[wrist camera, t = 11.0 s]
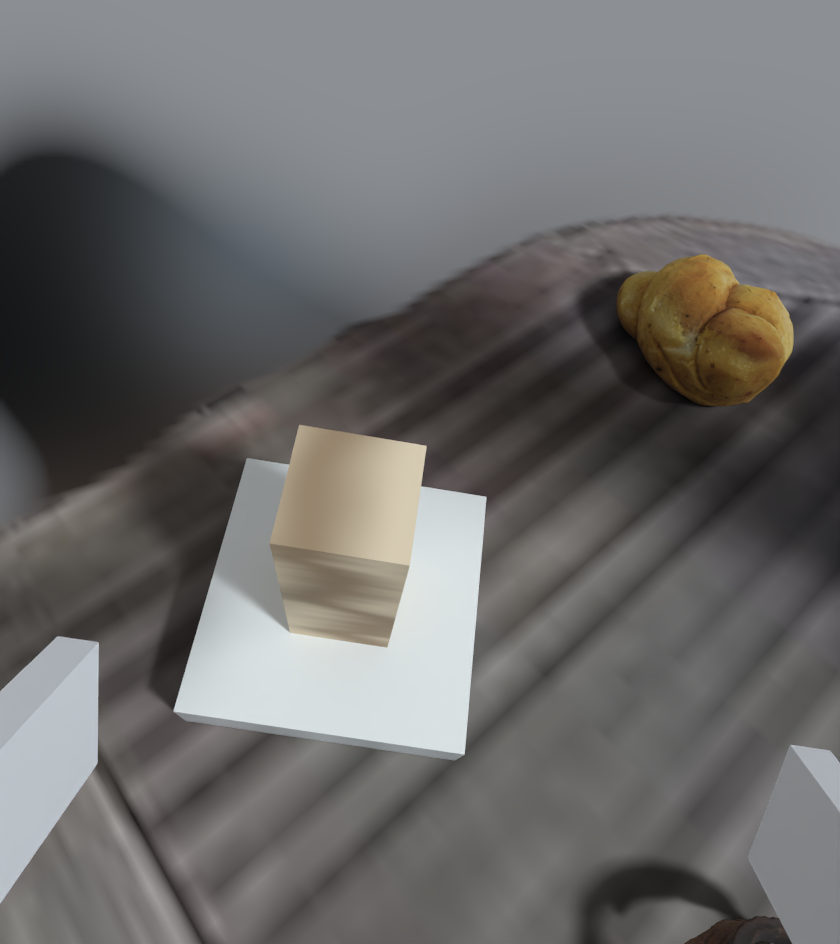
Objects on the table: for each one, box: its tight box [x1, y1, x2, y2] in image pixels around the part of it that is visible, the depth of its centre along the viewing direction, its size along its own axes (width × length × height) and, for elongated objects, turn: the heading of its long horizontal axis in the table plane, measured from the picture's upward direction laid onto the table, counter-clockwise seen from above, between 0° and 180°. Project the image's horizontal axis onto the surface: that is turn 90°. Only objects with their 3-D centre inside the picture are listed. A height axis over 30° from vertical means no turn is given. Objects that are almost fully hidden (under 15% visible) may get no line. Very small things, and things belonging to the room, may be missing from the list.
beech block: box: [269, 425, 427, 648], centre depth 30 cm, size 5×5×12 cm
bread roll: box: [616, 254, 793, 406], centre depth 47 cm, size 13×10×8 cm
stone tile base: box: [173, 458, 486, 760], centre depth 37 cm, size 14×14×3 cm
